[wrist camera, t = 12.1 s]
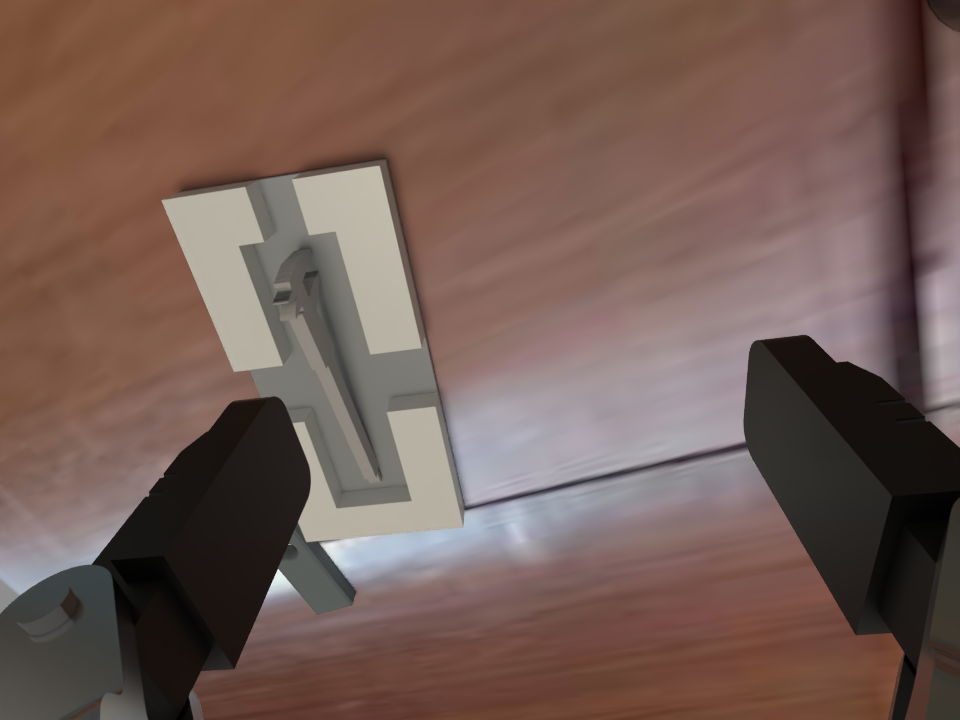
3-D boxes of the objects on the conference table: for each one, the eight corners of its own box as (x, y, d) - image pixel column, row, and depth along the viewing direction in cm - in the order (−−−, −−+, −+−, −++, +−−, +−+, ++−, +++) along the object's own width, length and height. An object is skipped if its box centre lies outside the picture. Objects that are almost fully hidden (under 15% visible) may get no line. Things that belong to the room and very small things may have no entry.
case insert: (386, 158, 36) (379, 165, 34) (464, 506, 50) (463, 527, 48) (181, 191, 37) (161, 200, 35) (314, 521, 52) (306, 542, 49)
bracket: (322, 598, 58) (316, 616, 56) (261, 525, 53) (253, 542, 51) (358, 588, 57) (353, 606, 55) (299, 512, 52) (292, 529, 50)
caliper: (296, 247, 38) (262, 281, 33) (311, 245, 38) (280, 278, 33) (371, 479, 48) (354, 535, 43) (383, 478, 48) (368, 534, 43)
